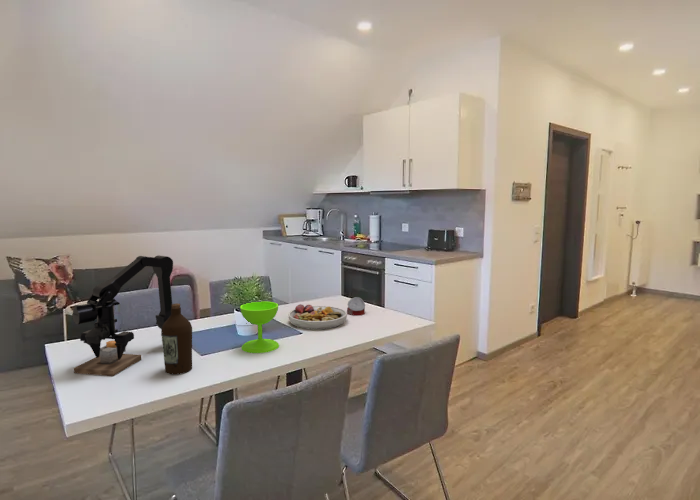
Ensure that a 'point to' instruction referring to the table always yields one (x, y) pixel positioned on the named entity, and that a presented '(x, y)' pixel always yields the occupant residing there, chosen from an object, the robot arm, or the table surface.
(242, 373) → the table surface
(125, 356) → the walnut pallet
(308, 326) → the bowl
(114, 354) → the metal billet
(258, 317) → the wineglass
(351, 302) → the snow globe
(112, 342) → the button
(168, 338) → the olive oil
